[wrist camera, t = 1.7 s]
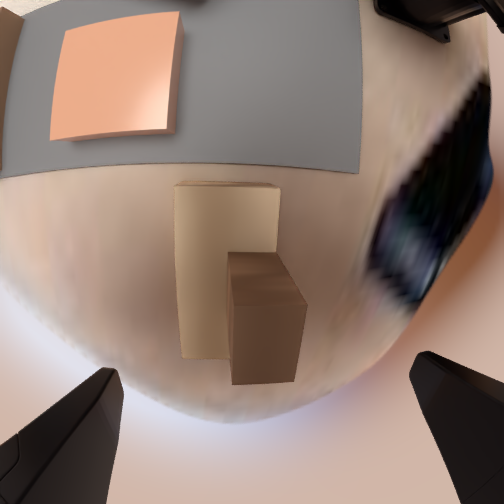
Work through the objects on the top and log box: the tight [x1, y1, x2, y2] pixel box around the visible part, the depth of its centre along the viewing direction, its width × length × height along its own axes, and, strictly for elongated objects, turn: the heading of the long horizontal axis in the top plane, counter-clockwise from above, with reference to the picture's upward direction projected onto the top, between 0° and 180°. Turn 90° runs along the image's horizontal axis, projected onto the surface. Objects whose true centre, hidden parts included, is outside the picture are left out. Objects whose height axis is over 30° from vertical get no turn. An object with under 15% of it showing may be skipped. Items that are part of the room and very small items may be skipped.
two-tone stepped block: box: [174, 181, 307, 385], centre depth 12 cm, size 5×9×8 cm, turn 177°
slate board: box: [0, 0, 362, 178], centre depth 10 cm, size 24×12×3 cm, turn 87°
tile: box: [50, 11, 185, 142], centre depth 11 cm, size 6×6×2 cm
